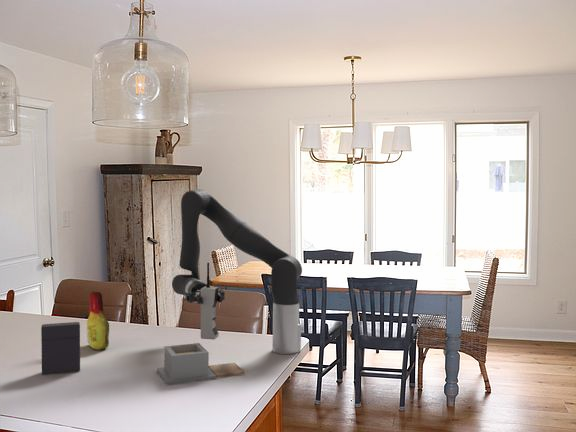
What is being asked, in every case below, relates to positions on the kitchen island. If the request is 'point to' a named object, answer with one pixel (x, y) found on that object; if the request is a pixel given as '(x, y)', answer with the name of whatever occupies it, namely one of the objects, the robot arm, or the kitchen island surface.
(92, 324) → the bottle
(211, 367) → the walnut pad
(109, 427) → the kitchen island surface
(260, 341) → the kitchen island surface
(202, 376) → the box
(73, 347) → the calculator
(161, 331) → the kitchen island surface
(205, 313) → the vintage mobile phone
